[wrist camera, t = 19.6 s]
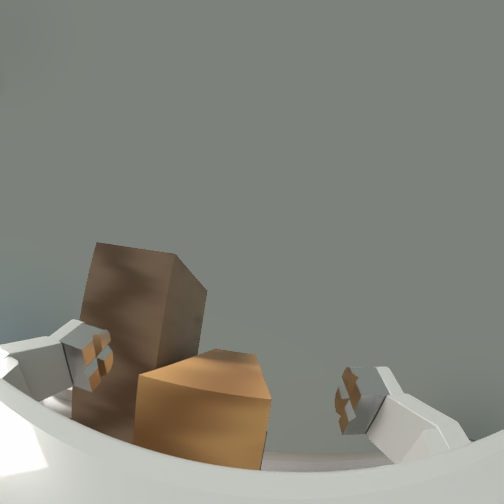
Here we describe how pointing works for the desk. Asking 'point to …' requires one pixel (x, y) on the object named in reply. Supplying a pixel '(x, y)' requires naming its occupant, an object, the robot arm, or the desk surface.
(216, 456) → the brown block
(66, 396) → the pill bottle
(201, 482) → the robot arm
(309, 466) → the desk surface
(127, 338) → the stepped stand
